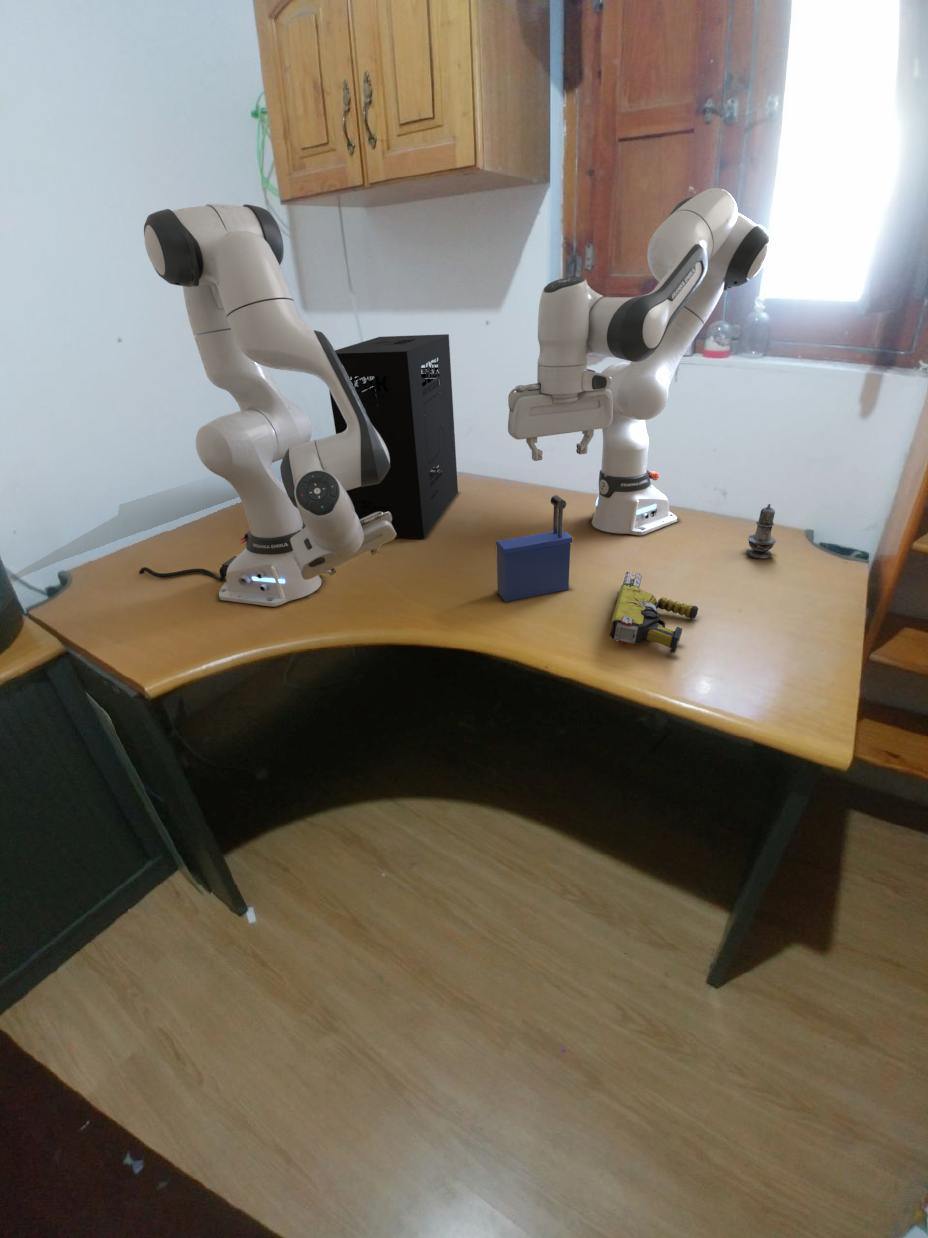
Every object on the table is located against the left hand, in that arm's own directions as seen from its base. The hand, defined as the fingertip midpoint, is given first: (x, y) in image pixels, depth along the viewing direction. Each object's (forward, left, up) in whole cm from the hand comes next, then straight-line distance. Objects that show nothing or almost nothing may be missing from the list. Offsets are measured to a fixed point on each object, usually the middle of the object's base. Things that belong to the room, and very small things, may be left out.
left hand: (353, 561), depth 124 cm
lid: (+37, +6, +1) cm, 37 cm away
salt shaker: (+88, +26, -10) cm, 92 cm away
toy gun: (+60, -5, -10) cm, 61 cm away
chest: (+37, +6, -10) cm, 38 cm away
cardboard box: (-1, +54, -10) cm, 55 cm away
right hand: (+41, +9, +18) cm, 46 cm away
